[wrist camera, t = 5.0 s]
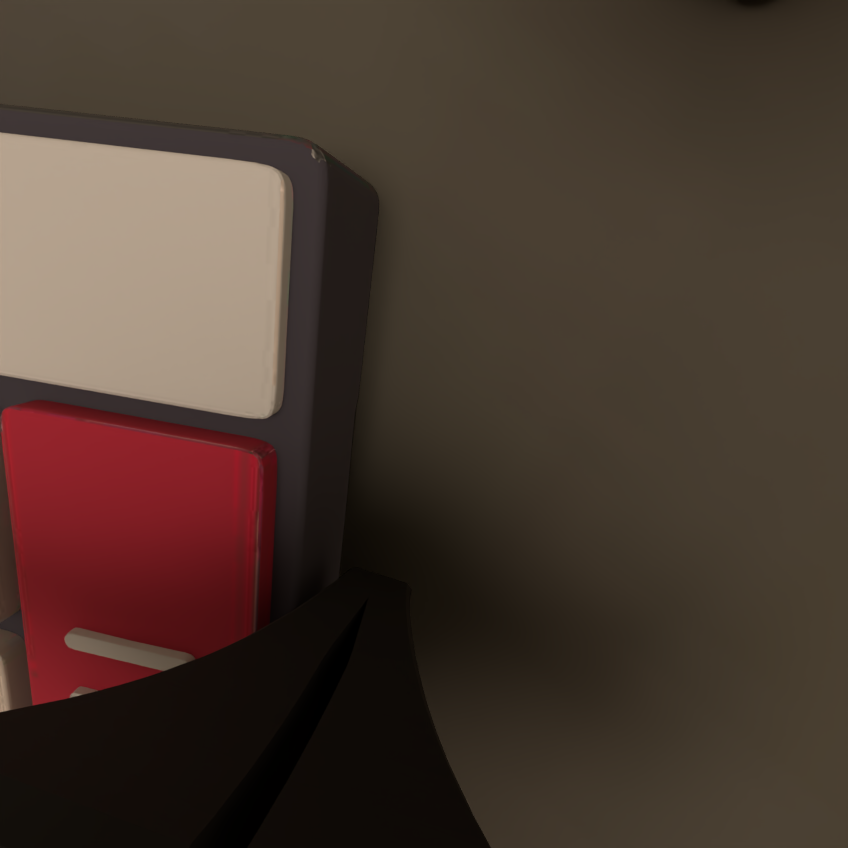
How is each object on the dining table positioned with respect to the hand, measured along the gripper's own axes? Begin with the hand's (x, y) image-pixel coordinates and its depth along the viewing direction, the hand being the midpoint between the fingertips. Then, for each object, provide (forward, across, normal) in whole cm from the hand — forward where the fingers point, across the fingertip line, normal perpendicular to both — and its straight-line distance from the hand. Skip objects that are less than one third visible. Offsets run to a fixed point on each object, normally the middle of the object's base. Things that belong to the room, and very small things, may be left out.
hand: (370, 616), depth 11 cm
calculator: (+2, +7, 0) cm, 7 cm away
